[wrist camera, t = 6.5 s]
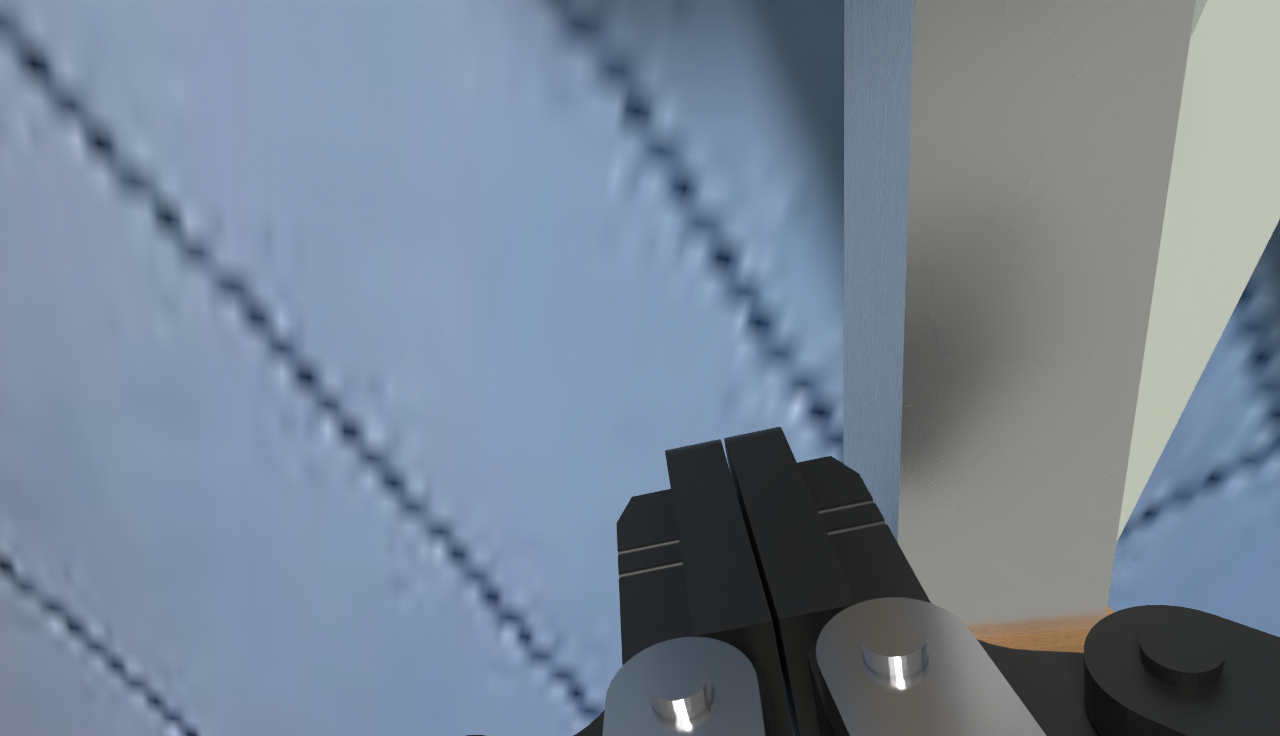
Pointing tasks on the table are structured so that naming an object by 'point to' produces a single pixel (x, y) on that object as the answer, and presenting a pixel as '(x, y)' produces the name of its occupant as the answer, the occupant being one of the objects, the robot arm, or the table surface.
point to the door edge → (1209, 212)
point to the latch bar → (1004, 288)
